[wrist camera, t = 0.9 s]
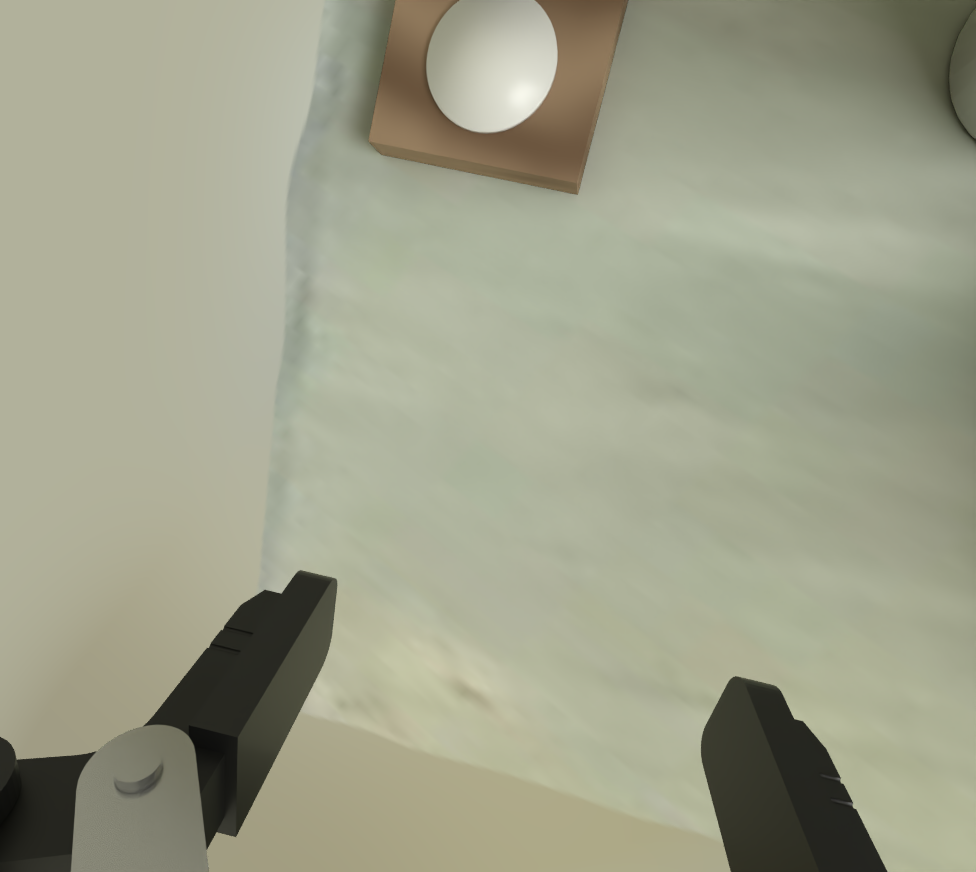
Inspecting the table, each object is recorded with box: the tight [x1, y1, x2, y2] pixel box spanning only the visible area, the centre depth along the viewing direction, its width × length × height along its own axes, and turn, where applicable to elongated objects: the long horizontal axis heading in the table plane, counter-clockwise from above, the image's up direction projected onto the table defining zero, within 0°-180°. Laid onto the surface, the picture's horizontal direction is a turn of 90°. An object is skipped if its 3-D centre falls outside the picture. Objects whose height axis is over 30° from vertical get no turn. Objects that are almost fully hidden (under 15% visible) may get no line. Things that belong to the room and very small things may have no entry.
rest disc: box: [426, 0, 558, 134], centre depth 29 cm, size 7×7×1 cm
